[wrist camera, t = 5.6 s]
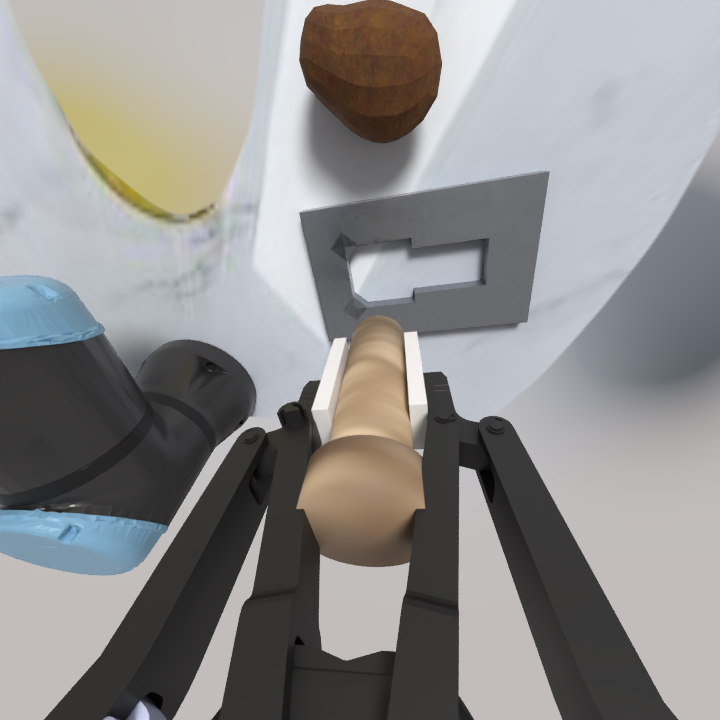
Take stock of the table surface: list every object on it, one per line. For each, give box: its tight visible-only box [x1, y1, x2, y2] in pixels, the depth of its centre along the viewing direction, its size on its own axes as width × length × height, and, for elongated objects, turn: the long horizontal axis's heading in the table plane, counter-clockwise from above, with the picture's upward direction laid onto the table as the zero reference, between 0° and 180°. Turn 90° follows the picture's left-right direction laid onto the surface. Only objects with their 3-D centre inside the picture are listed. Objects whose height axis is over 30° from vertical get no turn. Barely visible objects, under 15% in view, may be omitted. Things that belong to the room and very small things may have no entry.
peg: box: [296, 315, 425, 567], centre depth 16 cm, size 5×5×13 cm
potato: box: [299, 0, 442, 143], centre depth 22 cm, size 7×10×8 cm
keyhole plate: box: [299, 171, 549, 341], centre depth 32 cm, size 22×14×2 cm, turn 99°
